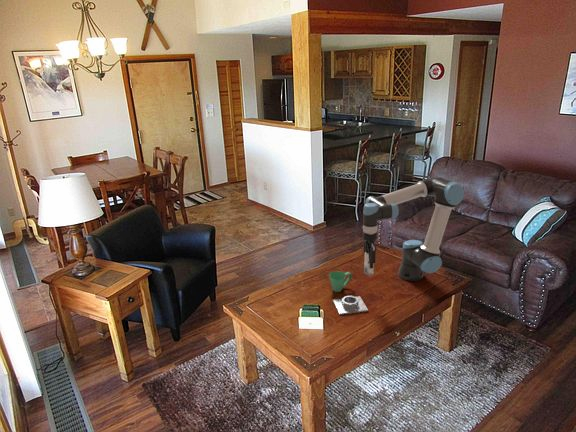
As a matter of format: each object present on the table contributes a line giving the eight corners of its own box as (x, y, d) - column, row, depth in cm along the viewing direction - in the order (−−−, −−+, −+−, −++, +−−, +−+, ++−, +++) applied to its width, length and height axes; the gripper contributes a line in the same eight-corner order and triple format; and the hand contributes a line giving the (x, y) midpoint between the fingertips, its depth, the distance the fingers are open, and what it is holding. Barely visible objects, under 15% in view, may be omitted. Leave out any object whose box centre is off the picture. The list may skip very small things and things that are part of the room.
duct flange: (359, 297, 231) (360, 291, 230) (368, 311, 218) (368, 305, 217) (332, 301, 229) (332, 295, 228) (339, 315, 216) (339, 308, 215)
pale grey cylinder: (371, 270, 226) (372, 250, 222) (374, 274, 222) (375, 254, 217) (362, 271, 226) (363, 251, 221) (365, 275, 221) (366, 255, 217)
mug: (335, 295, 234) (335, 280, 230) (326, 288, 242) (325, 273, 238) (355, 288, 240) (355, 274, 237) (345, 281, 248) (345, 267, 245)
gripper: (358, 226, 223) (357, 263, 231) (369, 239, 206) (367, 278, 214) (371, 224, 224) (369, 262, 232) (382, 237, 207) (381, 277, 215)
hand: (368, 270), depth 223 cm, fingers closed on pale grey cylinder, 5 cm apart
